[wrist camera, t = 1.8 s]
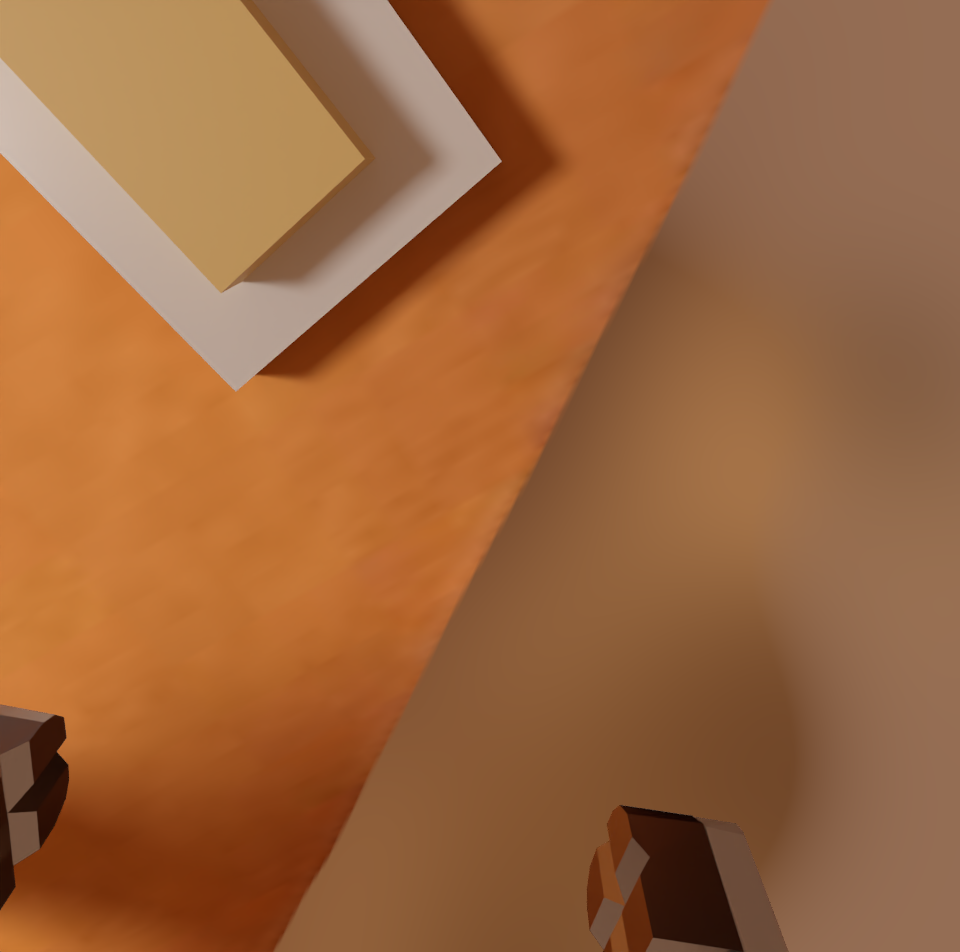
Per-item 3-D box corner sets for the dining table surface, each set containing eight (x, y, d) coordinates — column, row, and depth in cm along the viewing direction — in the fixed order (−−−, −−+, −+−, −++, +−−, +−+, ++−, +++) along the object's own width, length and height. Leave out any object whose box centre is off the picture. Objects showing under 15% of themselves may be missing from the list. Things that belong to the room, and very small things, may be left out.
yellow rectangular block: (375, 158, 21) (364, 159, 19) (241, 281, 23) (220, 293, 21) (147, -135, 18) (109, -166, 16) (12, 32, 20) (-36, 20, 18)
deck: (253, 374, 26) (235, 391, 24) (-72, 39, 22) (-122, 28, 20) (500, 160, 23) (501, 161, 21) (180, -290, 18) (147, -338, 17)
